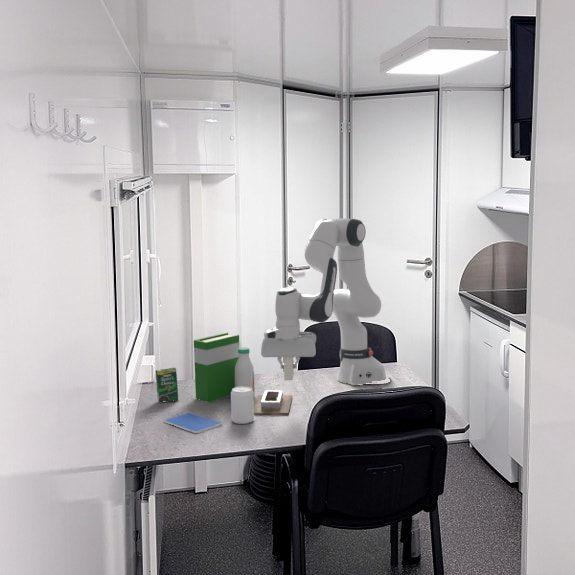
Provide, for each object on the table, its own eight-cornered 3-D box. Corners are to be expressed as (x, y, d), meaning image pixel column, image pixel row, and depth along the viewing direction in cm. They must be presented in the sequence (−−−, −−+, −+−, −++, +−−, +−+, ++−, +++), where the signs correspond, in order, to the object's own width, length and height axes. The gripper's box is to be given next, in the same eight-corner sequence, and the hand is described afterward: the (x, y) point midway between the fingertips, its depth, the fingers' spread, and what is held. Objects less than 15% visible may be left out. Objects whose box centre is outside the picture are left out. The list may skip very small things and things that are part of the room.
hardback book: (228, 388, 311) (226, 332, 308) (240, 392, 306) (239, 334, 303) (195, 398, 299) (193, 340, 295) (208, 402, 294) (205, 342, 290)
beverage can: (228, 419, 273) (227, 387, 271) (249, 416, 276) (248, 384, 274) (236, 426, 266) (235, 393, 264) (257, 422, 269) (256, 390, 267)
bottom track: (282, 397, 295) (282, 390, 294) (279, 409, 280) (279, 402, 280) (265, 397, 295) (264, 390, 295) (261, 409, 281) (260, 402, 280)
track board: (292, 397, 298) (292, 395, 298) (288, 415, 277) (288, 413, 276) (257, 397, 299) (257, 395, 299) (250, 414, 278) (250, 412, 278)
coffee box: (158, 403, 293) (156, 371, 291) (156, 401, 296) (155, 369, 294) (178, 401, 296) (177, 368, 294) (177, 399, 299) (175, 367, 297)
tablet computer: (162, 423, 272) (161, 420, 271) (189, 414, 281) (189, 411, 280) (195, 435, 258) (195, 432, 258) (223, 426, 267) (223, 422, 267)
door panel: (294, 372, 284) (293, 352, 282) (292, 380, 274) (292, 359, 272) (285, 372, 284) (285, 352, 282) (284, 380, 274) (283, 359, 273)
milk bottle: (251, 400, 295) (250, 351, 292) (233, 399, 297) (231, 350, 294) (256, 394, 303) (255, 346, 300) (238, 393, 304) (236, 345, 301)
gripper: (316, 329, 278) (316, 365, 281) (261, 330, 280) (262, 366, 282) (316, 333, 272) (316, 370, 275) (260, 334, 273) (261, 370, 276)
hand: (288, 368), depth 278 cm, fingers closed on door panel, 3 cm apart
